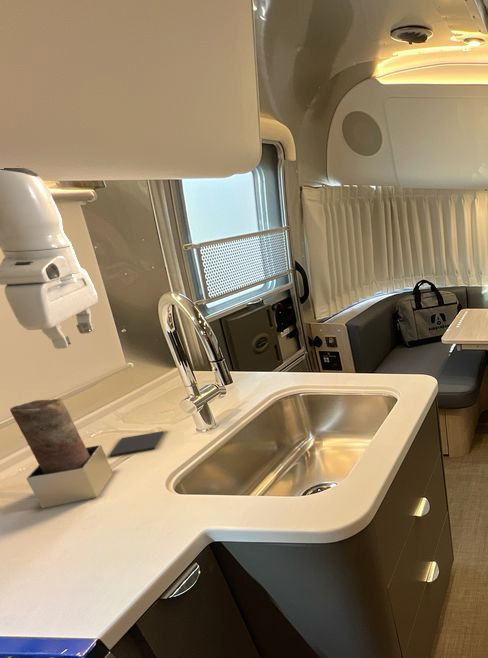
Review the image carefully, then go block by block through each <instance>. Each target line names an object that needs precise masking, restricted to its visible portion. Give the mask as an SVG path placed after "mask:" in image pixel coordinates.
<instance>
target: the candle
mask: <svg viewBox="0 0 488 658" xmlns="http://www.w3.org/2000/svg"><path fill="white" fill-rule="evenodd" d="M9 411H10V413H11V415H12V417H13V419H14V421H15V423H16V424H17V426H18V428H19V430H20V432H21V434H22V435H23V438H25V441H26V443H27V445H28V446H29V449H30V451H31V452H32V454H33V456H34V458H35V459H36V462H37V464H38V465H39V466H40V468H41V469H42V471H43V473H44V474H50V473H55V472H61V471H66V470H72V469H77V468H82V467H83V466H84V464H85V463H86V462H87V461H88V459H89V458H90V455H89V453H88V451H87V449H86V447H87V446H86V445H85V443H84V441H83V439H82V438H81V435H80V433H79V431H78V429H77V427H76V425H75V423H74V421H73V419H72V417H71V414H70V413H69V411H68V409H67V406H66V405H65V403H64V401H63V399H62V398H53V399H36V400H33V401H29V402H27V403H26V402H25V403H22V404H20V405H14V406H12V407H11V408H10V409H9Z"/></svg>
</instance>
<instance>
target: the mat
mask: <svg viewBox="0 0 488 658" xmlns="http://www.w3.org/2000/svg"><path fill="white" fill-rule="evenodd" d="M163 436H164V431H156V432H150V433H145V434H140V435H139V434H138V435H131V436H127V437H121V439H120V440H119V441H118V443H117V445H116V446H115V448H114V449H113V450H112V451H111V453H110V457H116V456H122V455H128V454H133V453H139V452H144V451H150V450H155V449H156V447H157V446H158V444H159V442H160V440H161V439H162V437H163Z"/></svg>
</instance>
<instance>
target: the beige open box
mask: <svg viewBox="0 0 488 658" xmlns="http://www.w3.org/2000/svg"><path fill="white" fill-rule="evenodd" d="M85 447H86V449H87V451H88V453H89V455H90V458H89V459H88V461H87V462H86V463H85V464H84V466H83V467H82V468H77V469H72V470H66V471H61V472H55V473H50V474H44V473H43V471H42V469H41V468H40V466H39V464H38V465H37V466H36V467H35V468H34V469H33V470H32V471H31V473H30V474H28V476H27V477H26V481H27V483H28V484H29V487H30V488H31V491H32V492H33V494H34V496H35V498H36V500H37V501H38V503H39V505H40V507H41V509H46V508H51V507H55V506H60V505H65V504H66V505H67V504H70V503H75V502H80V501H84V500H90V499H95V498H98V497H99V495H100V493H101V492H102V490H103V489H104V487H105V485H107V484H108V482H109V480H110V478H111V477H112V475H113V474H114V471H113V469H112V467H111V464H110V462H109V460H108V458H107V456H106V453H105V451H104V449H103V447H102V444H99V445H93V446H85Z"/></svg>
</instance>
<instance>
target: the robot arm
mask: <svg viewBox="0 0 488 658" xmlns="http://www.w3.org/2000/svg"><path fill="white" fill-rule="evenodd" d="M0 250H1V252H2V254H3V257H4V258H2V261H1V263H0V286H4V295H5V298H6V300H7V302H8V305H9V306H10V308H11V311H12V312H13V315H14V316H15V318H16V320H17V322H18V323H19V325H20V326H22V327H23V328H24V329H25V330H27V331H37V330H41V331H42V333H43V334H44V335H45V336H46V337H47V338H48V339H49V340H51V342H52V345H53V347H54V348H55V349H57V350H61V349H67V348H68V347H70V346H71V345H72V343H71V340H70V338H69V336H65V334H64V332H62V328H63V327H62V326H61V323H63V322H65V321H67V320H69V319H71V318H73V317H76V321H77V324H76V328H77V330H78V333H79V334H80V335H81V334H82V335H83V334H84V335H85V334H90V333H92V332H93V331H94V326H93V324H92V312H91V309H90V308H91V307H93V306H95V305H97V304H98V302H99V296H98V294H97V291H96V288H95V286H94V283H92V280H91V278H90V276H89V274H88V272H87V271H86V270H85V269H84V268H83V267H81V266H80V263H79V261H78V258H77V255H76V253H75V250H74V247H73V245H72V242H71V241H70V240H69V238H68V237H67V235H66V234H65V233H64V229H63V220H62V217H61V213H60V211H59V209H58V207H57V204H56V202H55V200H54V198H53V196H52V193H51V192H50V190H49V188H48V187H47V185H46V183H45V181H44V180H43V178H41V177H40V176H39V174H37V173H36V172H34V170H33V171H32V170H31V169H29V168H25V167H22V168H4V169H0Z"/></svg>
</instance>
